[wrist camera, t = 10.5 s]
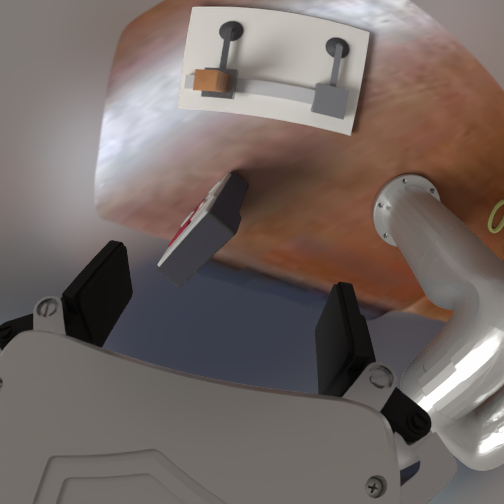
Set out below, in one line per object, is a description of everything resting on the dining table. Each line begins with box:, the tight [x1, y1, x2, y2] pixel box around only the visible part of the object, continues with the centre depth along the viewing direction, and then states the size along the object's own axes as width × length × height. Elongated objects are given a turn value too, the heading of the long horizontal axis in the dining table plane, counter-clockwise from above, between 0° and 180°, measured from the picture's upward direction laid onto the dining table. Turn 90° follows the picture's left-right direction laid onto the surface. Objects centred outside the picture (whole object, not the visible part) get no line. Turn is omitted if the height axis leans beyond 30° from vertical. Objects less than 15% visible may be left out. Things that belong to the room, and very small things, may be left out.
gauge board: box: [178, 7, 370, 136], centre depth 29 cm, size 24×16×4 cm, turn 82°
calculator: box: [157, 172, 248, 288], centre depth 36 cm, size 11×4×15 cm, turn 137°
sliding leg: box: [193, 26, 238, 99], centre depth 26 cm, size 4×10×8 cm, turn 172°
